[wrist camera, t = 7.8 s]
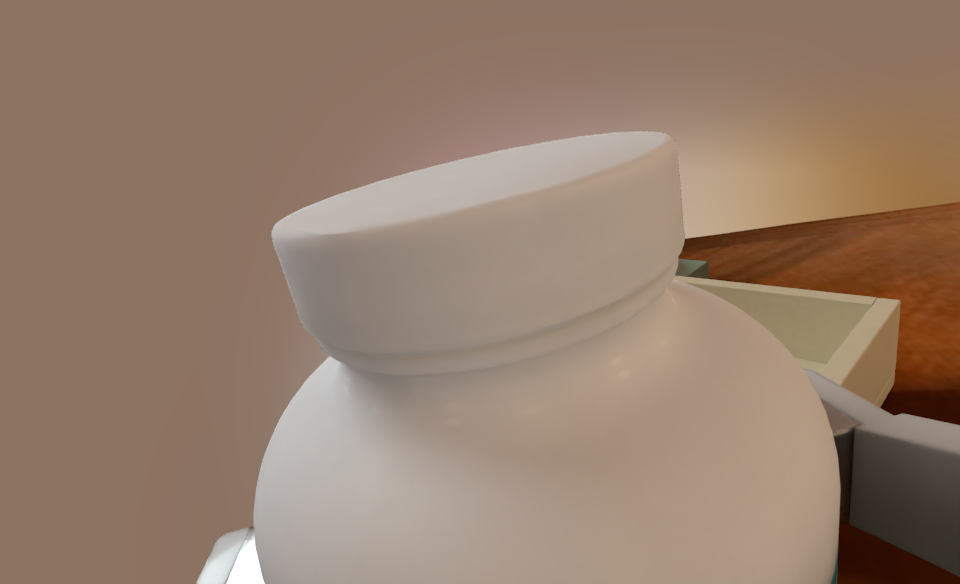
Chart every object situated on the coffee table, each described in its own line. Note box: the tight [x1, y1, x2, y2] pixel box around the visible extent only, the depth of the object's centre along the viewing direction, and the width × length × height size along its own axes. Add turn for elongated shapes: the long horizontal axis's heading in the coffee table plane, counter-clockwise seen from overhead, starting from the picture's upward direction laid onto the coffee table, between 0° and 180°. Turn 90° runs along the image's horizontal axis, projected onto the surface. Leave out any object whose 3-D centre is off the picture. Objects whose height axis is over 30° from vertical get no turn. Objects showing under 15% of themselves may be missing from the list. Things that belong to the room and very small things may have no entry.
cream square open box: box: [674, 276, 901, 408], centre depth 23 cm, size 12×12×4 cm
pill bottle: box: [253, 131, 841, 584], centre depth 8 cm, size 8×7×14 cm
